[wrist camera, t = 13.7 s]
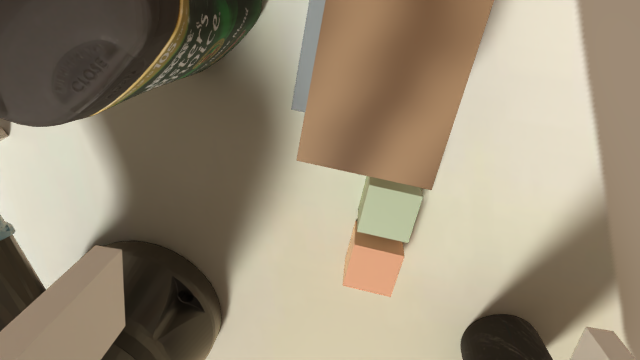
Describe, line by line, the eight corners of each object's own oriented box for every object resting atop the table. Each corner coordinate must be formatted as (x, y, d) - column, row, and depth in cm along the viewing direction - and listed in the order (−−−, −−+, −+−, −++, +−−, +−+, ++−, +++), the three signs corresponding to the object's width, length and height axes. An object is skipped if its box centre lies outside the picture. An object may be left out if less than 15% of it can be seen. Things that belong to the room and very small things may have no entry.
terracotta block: (345, 258, 38) (342, 285, 34) (355, 220, 36) (354, 244, 33) (388, 268, 38) (390, 296, 34) (400, 231, 36) (404, 256, 33)
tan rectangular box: (314, 121, 33) (296, 160, 24) (351, -68, 28) (343, -99, 19) (415, 143, 33) (431, 190, 24) (471, -43, 27) (515, -64, 19)
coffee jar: (193, 89, 33) (10, 176, 16) (120, 4, 31) (-174, 4, 14) (285, 6, 30) (176, 7, 13) (209, -93, 28) (-30, -241, 11)
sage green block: (358, 208, 36) (357, 231, 32) (369, 165, 34) (369, 184, 31) (404, 218, 36) (408, 242, 32) (417, 176, 34) (423, 196, 31)
